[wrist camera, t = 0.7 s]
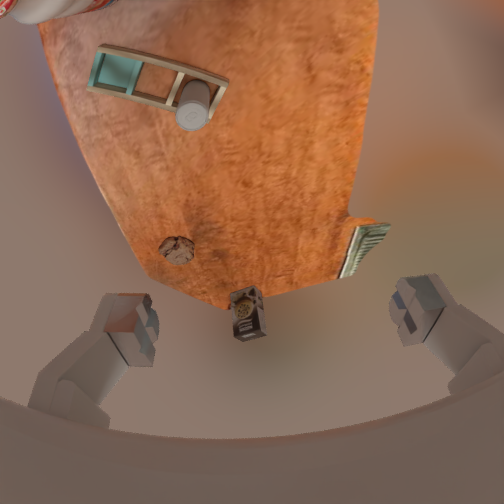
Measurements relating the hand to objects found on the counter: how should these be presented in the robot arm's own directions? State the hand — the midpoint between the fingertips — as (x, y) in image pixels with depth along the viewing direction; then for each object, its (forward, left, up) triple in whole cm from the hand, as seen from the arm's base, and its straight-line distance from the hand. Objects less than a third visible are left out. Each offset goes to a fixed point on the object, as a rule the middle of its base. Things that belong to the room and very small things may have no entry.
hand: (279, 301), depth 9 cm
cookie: (+52, +10, -46) cm, 70 cm away
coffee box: (+67, +38, -46) cm, 89 cm away
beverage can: (+10, -1, -46) cm, 47 cm away
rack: (+10, -8, -46) cm, 48 cm away
